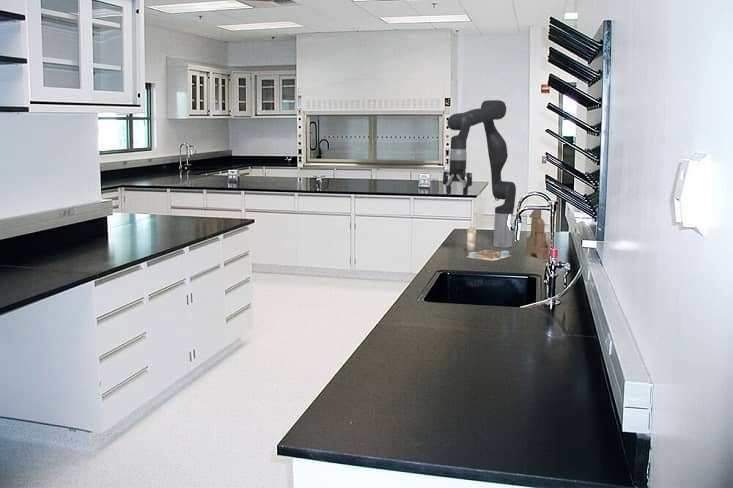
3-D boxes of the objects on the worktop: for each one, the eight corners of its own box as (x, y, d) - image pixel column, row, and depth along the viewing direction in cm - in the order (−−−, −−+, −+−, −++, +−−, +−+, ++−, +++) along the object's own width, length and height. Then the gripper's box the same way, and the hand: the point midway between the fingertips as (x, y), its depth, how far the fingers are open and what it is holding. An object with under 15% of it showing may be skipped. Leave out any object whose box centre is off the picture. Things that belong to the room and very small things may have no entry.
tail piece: (473, 256, 328) (473, 251, 327) (477, 256, 326) (478, 252, 326) (468, 257, 325) (468, 252, 324) (473, 257, 323) (473, 253, 323)
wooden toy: (554, 261, 323) (557, 207, 319) (541, 262, 321) (544, 207, 317) (535, 255, 337) (538, 203, 333) (523, 256, 335) (525, 203, 331)
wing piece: (504, 254, 332) (504, 250, 332) (509, 255, 330) (509, 251, 330) (497, 256, 327) (498, 252, 327) (502, 257, 326) (502, 252, 326)
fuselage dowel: (469, 254, 339) (470, 227, 337) (476, 255, 336) (477, 228, 334) (464, 255, 336) (465, 228, 334) (472, 256, 333) (473, 229, 331)
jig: (485, 254, 339) (485, 247, 338) (511, 258, 330) (512, 250, 330) (465, 259, 325) (465, 251, 325) (492, 263, 317) (492, 255, 316)
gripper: (475, 159, 320) (474, 195, 323) (449, 158, 329) (448, 193, 332) (467, 160, 314) (465, 196, 317) (440, 158, 323) (439, 194, 326)
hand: (456, 194), depth 324 cm, fingers open, 8 cm apart
